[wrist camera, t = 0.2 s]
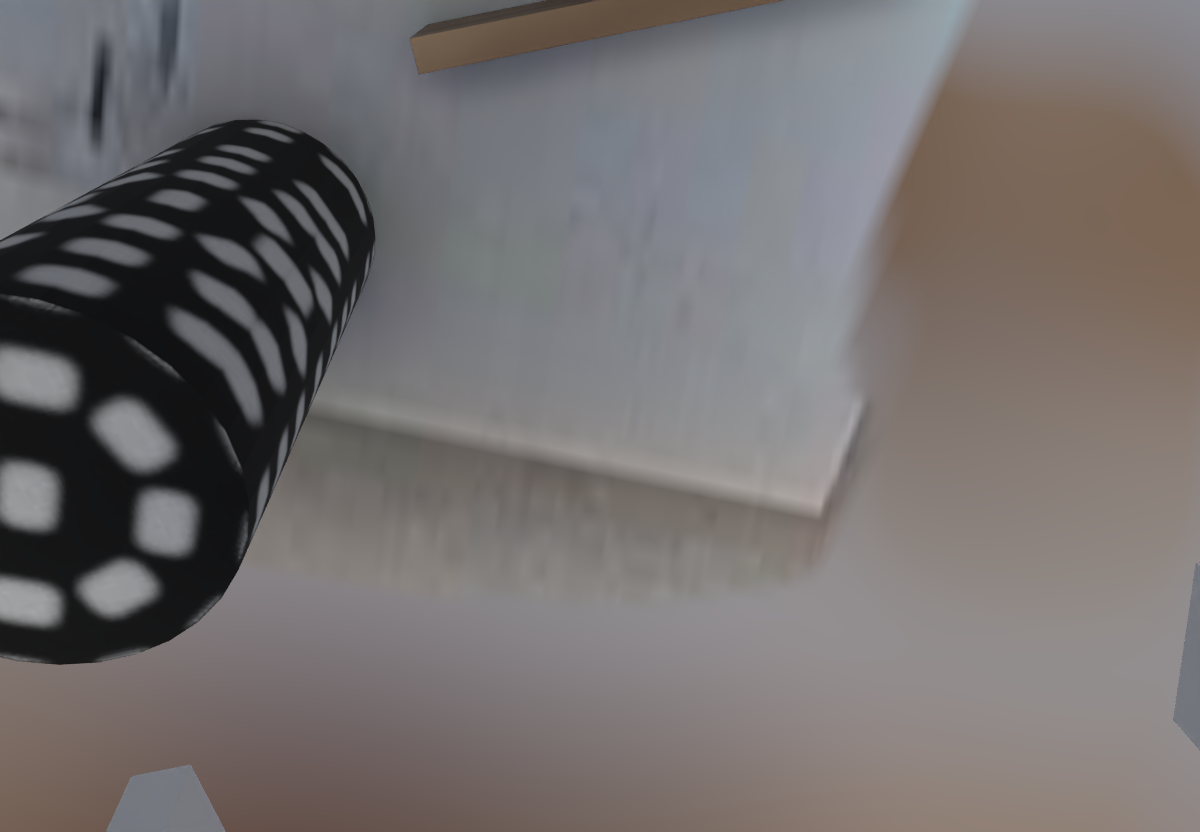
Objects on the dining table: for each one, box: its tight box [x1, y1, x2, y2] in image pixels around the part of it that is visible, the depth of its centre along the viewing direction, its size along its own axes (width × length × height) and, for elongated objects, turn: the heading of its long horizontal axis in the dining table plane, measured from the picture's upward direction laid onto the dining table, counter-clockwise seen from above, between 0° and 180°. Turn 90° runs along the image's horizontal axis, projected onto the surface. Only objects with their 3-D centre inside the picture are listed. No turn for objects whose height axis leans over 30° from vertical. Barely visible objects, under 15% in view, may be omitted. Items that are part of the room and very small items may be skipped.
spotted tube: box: [0, 120, 375, 665], centre depth 27 cm, size 8×8×20 cm
